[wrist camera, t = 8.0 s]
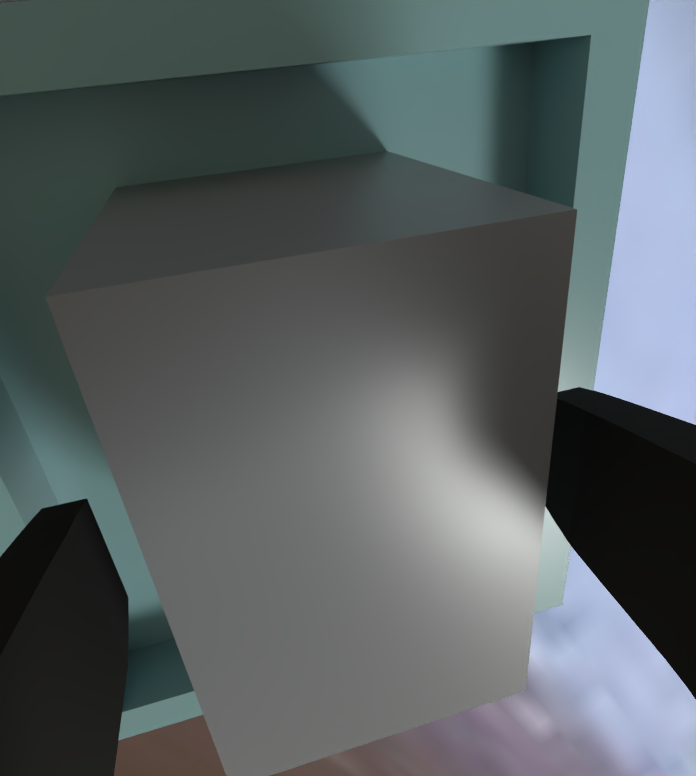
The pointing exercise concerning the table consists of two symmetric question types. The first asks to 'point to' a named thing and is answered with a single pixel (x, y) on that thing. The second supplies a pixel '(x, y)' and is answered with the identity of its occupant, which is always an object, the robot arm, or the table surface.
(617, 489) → the robot arm
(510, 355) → the grey block
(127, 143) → the tray
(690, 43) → the table surface
